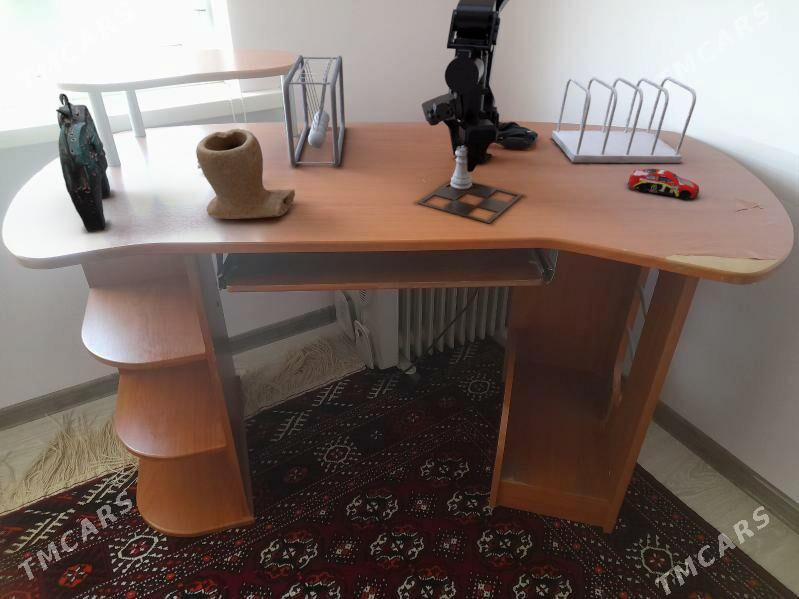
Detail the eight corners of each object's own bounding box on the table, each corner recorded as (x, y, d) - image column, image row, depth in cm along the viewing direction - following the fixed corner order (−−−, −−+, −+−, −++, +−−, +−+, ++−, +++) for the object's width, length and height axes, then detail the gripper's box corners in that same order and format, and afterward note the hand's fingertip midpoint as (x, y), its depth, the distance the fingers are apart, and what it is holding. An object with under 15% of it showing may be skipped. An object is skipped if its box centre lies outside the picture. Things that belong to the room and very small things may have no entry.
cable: (465, 148, 130) (467, 129, 128) (466, 130, 142) (468, 113, 139) (538, 152, 128) (541, 133, 126) (533, 133, 140) (536, 116, 137)
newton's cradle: (304, 126, 142) (298, 53, 132) (345, 127, 142) (342, 53, 132) (290, 169, 117) (281, 83, 107) (339, 169, 118) (335, 83, 108)
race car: (697, 193, 110) (704, 174, 108) (696, 203, 106) (703, 183, 104) (629, 180, 115) (634, 162, 112) (625, 189, 111) (630, 170, 108)
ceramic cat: (85, 190, 106) (49, 83, 95) (121, 186, 108) (90, 81, 97) (75, 236, 91) (31, 114, 80) (117, 230, 93) (80, 111, 82)
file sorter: (572, 163, 122) (586, 91, 114) (550, 138, 137) (562, 73, 128) (680, 163, 124) (703, 92, 115) (648, 138, 138) (666, 73, 129)
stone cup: (199, 229, 94) (180, 143, 85) (216, 200, 103) (201, 121, 95) (287, 229, 94) (277, 144, 86) (296, 201, 104) (288, 121, 95)
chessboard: (455, 179, 114) (455, 178, 114) (521, 195, 107) (522, 194, 107) (417, 203, 104) (417, 202, 104) (489, 224, 97) (489, 223, 97)
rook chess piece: (470, 191, 109) (473, 153, 104) (448, 189, 109) (450, 151, 105) (473, 182, 112) (475, 144, 107) (451, 180, 113) (453, 143, 108)
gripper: (415, 70, 105) (412, 149, 114) (440, 95, 90) (435, 184, 99) (470, 69, 107) (463, 146, 116) (504, 92, 92) (493, 180, 101)
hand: (462, 163), depth 108 cm, fingers open, 9 cm apart
